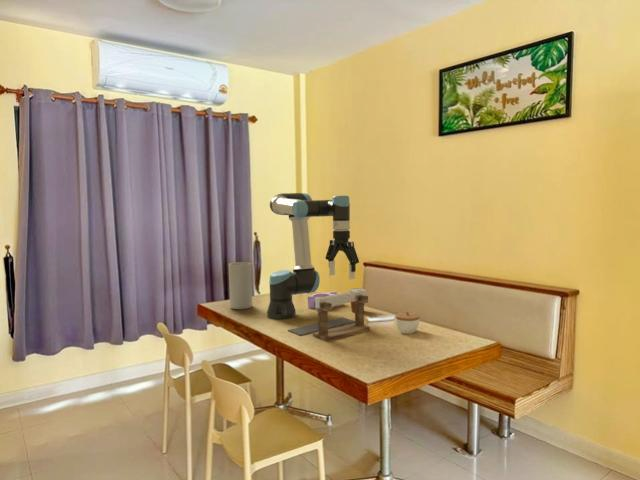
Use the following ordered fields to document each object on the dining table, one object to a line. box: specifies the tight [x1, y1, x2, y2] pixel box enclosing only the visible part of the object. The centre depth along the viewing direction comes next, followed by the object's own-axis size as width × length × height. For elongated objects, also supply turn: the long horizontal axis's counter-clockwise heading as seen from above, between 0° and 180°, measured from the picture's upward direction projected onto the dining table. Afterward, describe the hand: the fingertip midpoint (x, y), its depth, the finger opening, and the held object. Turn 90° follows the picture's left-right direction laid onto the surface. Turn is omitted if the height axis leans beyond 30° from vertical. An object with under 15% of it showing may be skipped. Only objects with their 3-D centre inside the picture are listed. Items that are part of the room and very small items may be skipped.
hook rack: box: [312, 295, 371, 342], centre depth 208 cm, size 10×26×16 cm, turn 128°
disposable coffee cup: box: [348, 287, 366, 314], centre depth 246 cm, size 10×10×12 cm
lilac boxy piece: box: [307, 291, 342, 312], centre depth 259 cm, size 20×12×7 cm, turn 128°
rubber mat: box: [287, 316, 355, 336], centre depth 219 cm, size 10×34×1 cm, turn 128°
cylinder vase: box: [228, 261, 253, 310], centre depth 259 cm, size 12×12×25 cm
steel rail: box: [315, 289, 367, 309], centre depth 207 cm, size 3×28×4 cm, turn 128°
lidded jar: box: [395, 311, 420, 335], centre depth 209 cm, size 11×11×9 cm
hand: (341, 277), depth 206 cm, fingers open, 13 cm apart
